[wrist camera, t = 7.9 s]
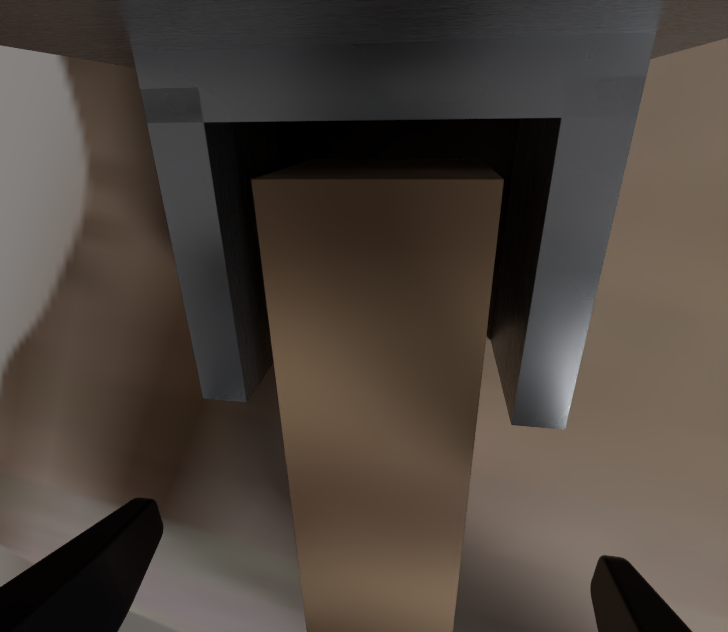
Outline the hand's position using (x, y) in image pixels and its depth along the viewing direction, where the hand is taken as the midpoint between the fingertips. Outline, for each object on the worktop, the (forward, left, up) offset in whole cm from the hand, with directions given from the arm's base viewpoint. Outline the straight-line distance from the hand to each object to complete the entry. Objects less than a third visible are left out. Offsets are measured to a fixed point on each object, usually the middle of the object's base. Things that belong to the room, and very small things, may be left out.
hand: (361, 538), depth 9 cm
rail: (0, 0, -5) cm, 5 cm away
